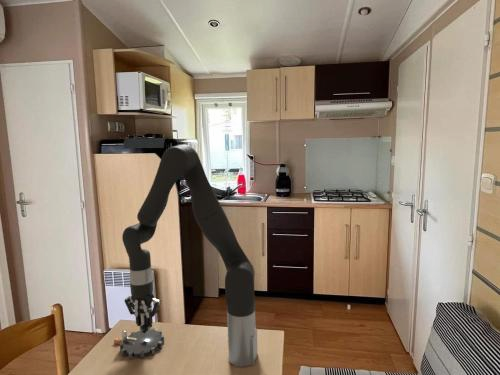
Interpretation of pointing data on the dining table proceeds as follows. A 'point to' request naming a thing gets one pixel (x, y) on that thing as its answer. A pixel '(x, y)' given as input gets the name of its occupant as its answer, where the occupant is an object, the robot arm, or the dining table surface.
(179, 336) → the dining table surface
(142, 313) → the push button
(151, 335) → the sprocket wheel
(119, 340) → the pointer block
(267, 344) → the dining table surface
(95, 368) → the dining table surface
